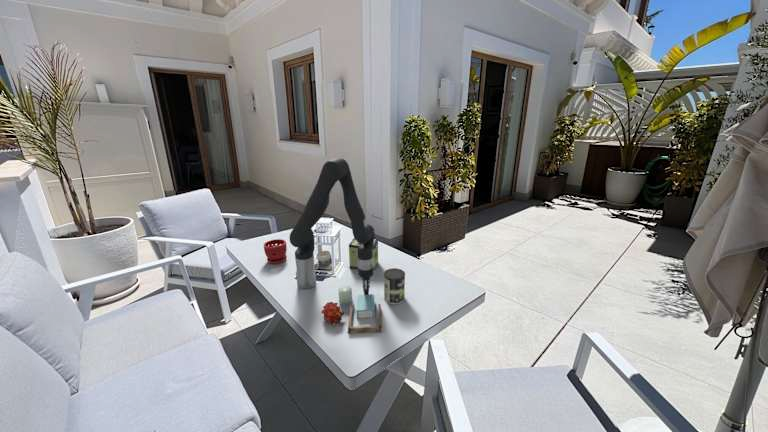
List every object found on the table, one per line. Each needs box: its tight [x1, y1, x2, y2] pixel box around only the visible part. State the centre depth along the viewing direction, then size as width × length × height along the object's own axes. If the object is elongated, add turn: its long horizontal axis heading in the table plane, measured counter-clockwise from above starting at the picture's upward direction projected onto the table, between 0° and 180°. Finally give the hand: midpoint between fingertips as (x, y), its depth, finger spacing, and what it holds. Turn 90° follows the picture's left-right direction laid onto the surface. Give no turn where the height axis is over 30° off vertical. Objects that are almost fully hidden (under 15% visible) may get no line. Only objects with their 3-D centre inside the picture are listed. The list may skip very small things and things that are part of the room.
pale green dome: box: [337, 285, 353, 307], centre depth 145 cm, size 6×6×7 cm
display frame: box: [347, 303, 382, 334], centre depth 133 cm, size 14×16×2 cm
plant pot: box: [263, 238, 288, 264], centre depth 185 cm, size 13×13×12 cm
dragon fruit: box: [321, 301, 345, 325], centre depth 133 cm, size 8×8×12 cm
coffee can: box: [383, 268, 406, 305], centre depth 146 cm, size 10×10×14 cm
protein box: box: [348, 237, 379, 271], centre depth 178 cm, size 10×16×16 cm
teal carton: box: [356, 293, 375, 319], centre depth 140 cm, size 8×12×4 cm, turn 3°
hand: (366, 296), depth 147 cm, fingers closed
